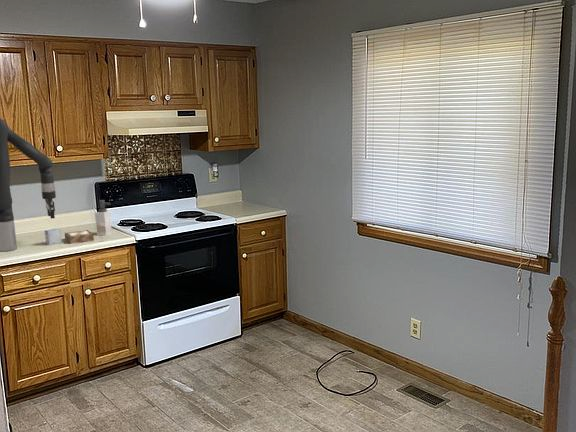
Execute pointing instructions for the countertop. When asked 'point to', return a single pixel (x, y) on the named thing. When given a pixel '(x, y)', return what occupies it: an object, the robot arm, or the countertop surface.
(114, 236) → the countertop surface
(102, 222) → the soap dispenser
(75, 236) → the walnut plinth
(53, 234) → the medicine box
